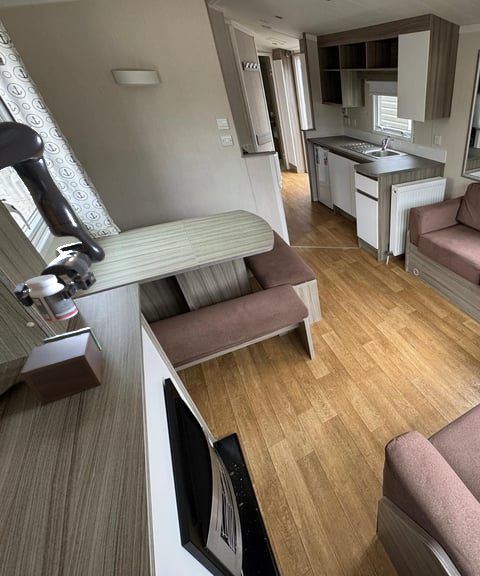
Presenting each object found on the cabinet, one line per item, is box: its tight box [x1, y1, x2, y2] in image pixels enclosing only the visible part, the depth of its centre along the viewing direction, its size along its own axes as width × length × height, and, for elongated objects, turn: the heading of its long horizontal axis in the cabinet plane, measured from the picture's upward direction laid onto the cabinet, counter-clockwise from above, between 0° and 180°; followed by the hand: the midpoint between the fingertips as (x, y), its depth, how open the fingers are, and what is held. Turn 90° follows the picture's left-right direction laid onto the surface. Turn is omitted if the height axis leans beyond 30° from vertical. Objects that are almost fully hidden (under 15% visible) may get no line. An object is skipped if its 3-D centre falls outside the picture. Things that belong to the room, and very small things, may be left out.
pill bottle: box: [24, 275, 79, 323], centre depth 69 cm, size 6×6×10 cm
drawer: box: [42, 326, 103, 352], centre depth 73 cm, size 11×8×7 cm
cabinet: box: [20, 333, 105, 405], centre depth 69 cm, size 11×10×9 cm
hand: (46, 298), depth 67 cm, fingers closed on pill bottle, 5 cm apart
